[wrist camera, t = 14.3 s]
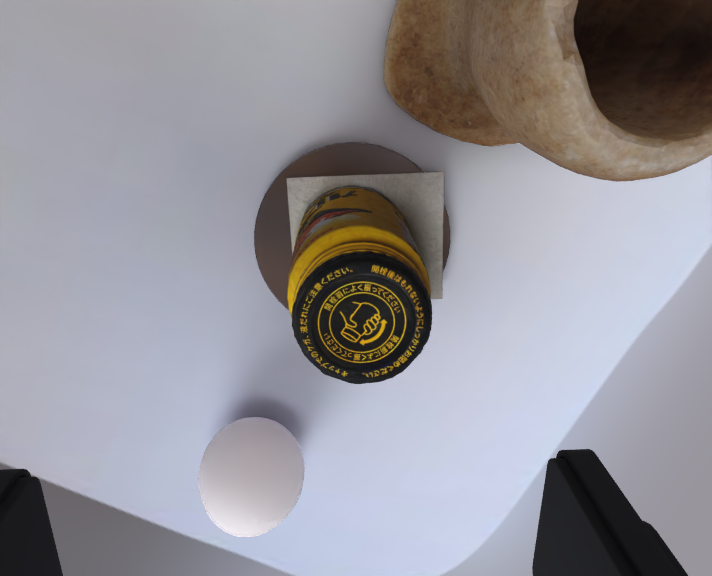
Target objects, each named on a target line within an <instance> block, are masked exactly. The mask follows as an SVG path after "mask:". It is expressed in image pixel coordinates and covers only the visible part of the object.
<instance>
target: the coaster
mask: <svg viewBox="0 0 712 576" xmlns="http://www.w3.org/2000/svg"><path fill="white" fill-rule="evenodd" d="M403 173H424V172H423V171H422V170H421V169H420V168H419V167H418V166H417V165H416V164H415V163H413V162H412V161H410V160H409V159H407V158H406V157H404V156H403V155H401V154H399V153H397V152H395V151H393V150H391V149H388V148H385V147H382V146H379V145H374V144H369V143H360V142H346V143H337V144H332V145H327V146H324V147H321V148H318V149H315V150H313V151H311V152H309V153H307V154H305V155H303V156H301V157H300V158H298V159H297V160H295V161H294V162H292V163H291V164H290V165H289V166H288V167H287V168H285V169H284V170H283V171H282V172H281V173H280V174H279V176H278V177H277V178H276V179H275V180H274V182H273V183H272V184H271V186H270V188H269V189H268V191H267V193H266V194H265V196H264V199H263V201H262V203H261V205H260V208H259V211H258V215H257V218H256V225H255V231H254V245H255V253H256V258H257V262H258V266H259V269H260V271H261V274H262V276H263V278H264V280H265V282H266V284H267V286H268V287H269V289H270V290H271V292H272V293H273V294H274V296H275V297H276V298H277V299H278V300H279V301H280V302H281V303H282V304H283V305H284V306H285V307H286V308H287V309H288V310H289V307H288V301H287V294H288V274H289V271H290V268H291V263H292V257H293V256H292V242H291V230H290V216H289V204H288V191H287V179H286V178H300V177H323V176H348V175H378V174H403ZM449 247H450V226H449V219H448V215H447V211H446V208H445V205H444V210H443V260H442V261H443V265H442V273H443V271H444V268H445V266H446V262H447V258H448V254H449ZM289 311H290V310H289Z"/></svg>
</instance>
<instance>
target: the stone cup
mask: <svg viewBox="0 0 712 576" xmlns="http://www.w3.org/2000/svg"><path fill="white" fill-rule="evenodd" d="M384 83H385V85H386V88H387V90H388V92H389V93H390V95H391V96H392V97H393V98H394V100H395V102H396V103H397V105H399V106H400V107H401V108H402V109H403V110H405V111H406V112H407V113H408V114H410V115H411V116H412V117H413V118H415V119H416V120H417V121H419V122H421V123H423V124H425V125H427V126H429V127H430V128H432V129H433V130H435V131H437V132H439V133H442V134H444V135H447V136H450V137H452V138H455V139H458V140H461V141H464V142H469V143H474V144H479V145H484V146H498V145H505V144H515V143H521V144H522V145H524V146H525V147H527V148H528V149H530V150H532V151H534V152H535V153H537V154H539V155H541V156H543V157H544V158H546V159H548V160H550V161H552V162H553V163H555V164H557V165H559V166H561V167H563V168H565V169H568V170H570V171H573V172H575V173H578V174H582V175H586V176H590V177H594V178H597V179H603V180H611V181H633V180H640V179H647V178H654V177H659V176H663V175H667V174H670V173H674V172H677V171H679V170H681V169H684V168H686V167H688V166H691V165H693V164H695V163H697V162H699V161H701V160H703V159H705V158H707V157H709V156H710V155H712V0H397V3H396V6H395V10H394V13H393V17H392V20H391V24H390V27H389V32H388V36H387V41H386V47H385V59H384Z"/></svg>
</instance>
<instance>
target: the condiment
mask: <svg viewBox="0 0 712 576" xmlns="http://www.w3.org/2000/svg"><path fill="white" fill-rule="evenodd" d="M286 179H287V191H288V204H289V216H290V230H291V242H292V256H293V257H292V263H291V268H290V271H289V274H288V294H287V301H288V307H289V310H290V314H291V317H292V327H293V330H294V336H295V338H296V340H297V343H298V344H299V346H300V348H301V350H302V352H303V354H304V355H305V356H306V357H307V358H308V360H309V361H310V362H311V363H313V364H314V365H315V366H316V367H317V368H318V369H319V370H320V371H321V372H322V373H323V374H325V375H328V376H331V377H333V378H337V379H340V380H342V381H345V382H348V383H354V384H363V383H373V382H380V381H384V380H386V379H389V378H392V377H394V376H396V375H397V374H399V373H401V372H403V371H404V370H405V369H406V368H407V367H408V366H409V365H410V364H411V362H412V361H413V360H414V359H415V358H416V357H417V356H418V355H419V354H420V353H421V351H422V350H423V347H424V345H425V344H426V343H427V341H428V339H429V335H430V331H431V325H432V305H431V300H430V299H442V265H443V261H442V260H443V210H444V172H428V173H403V174H378V175H348V176H323V177H300V178H286Z"/></svg>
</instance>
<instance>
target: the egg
mask: <svg viewBox="0 0 712 576" xmlns="http://www.w3.org/2000/svg"><path fill="white" fill-rule="evenodd" d="M303 480H304V459H303V455H302V451H301V449H300V446H299V444H298V442H297V440H296V439H295V437H294V436H293V435H292V433H291V432H290V431H288V430H287V429H286V428H285V427H284V426H283V425H281V424H280V423H278V422H276V421H273V420H271V419H268V418H262V417H250V418H243V419H240V420H237V421H234V422H232V423H230V424H229V425H227V426H225V427H224V428H223V429H221V430H220V431H219V432H218V433H217V434H216V435H215V436H214V437H213V439H212V440H211V442H210V443H209V445H208V446H207V448H206V450H205V452H204V455H203V458H202V461H201V465H200V470H199V477H198V482H199V493H200V496H201V499H202V502H203V504H204V507H205V509H206V512H207V514H208V515H209V517H210V518H211V519H212V521H213V522H214V523H215V524H216V525H217V526H218V527H219V528H221V529H222V530H223V531H224V532H226V533H228V534H231V535H234V536H238V537H256V536H259V535H262V534H265V533H266V532H268V531H270V530H271V529H273V528H275V527H276V526H277V525H279V524H280V523H281V522H282V521H283V520H284V519H285V518H286V517H287V516H288V514H289V513H290V512H291V511H292V509H293V508H294V506H295V505H296V503H297V500H298V498H299V495H300V493H301V490H302V485H303Z"/></svg>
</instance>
